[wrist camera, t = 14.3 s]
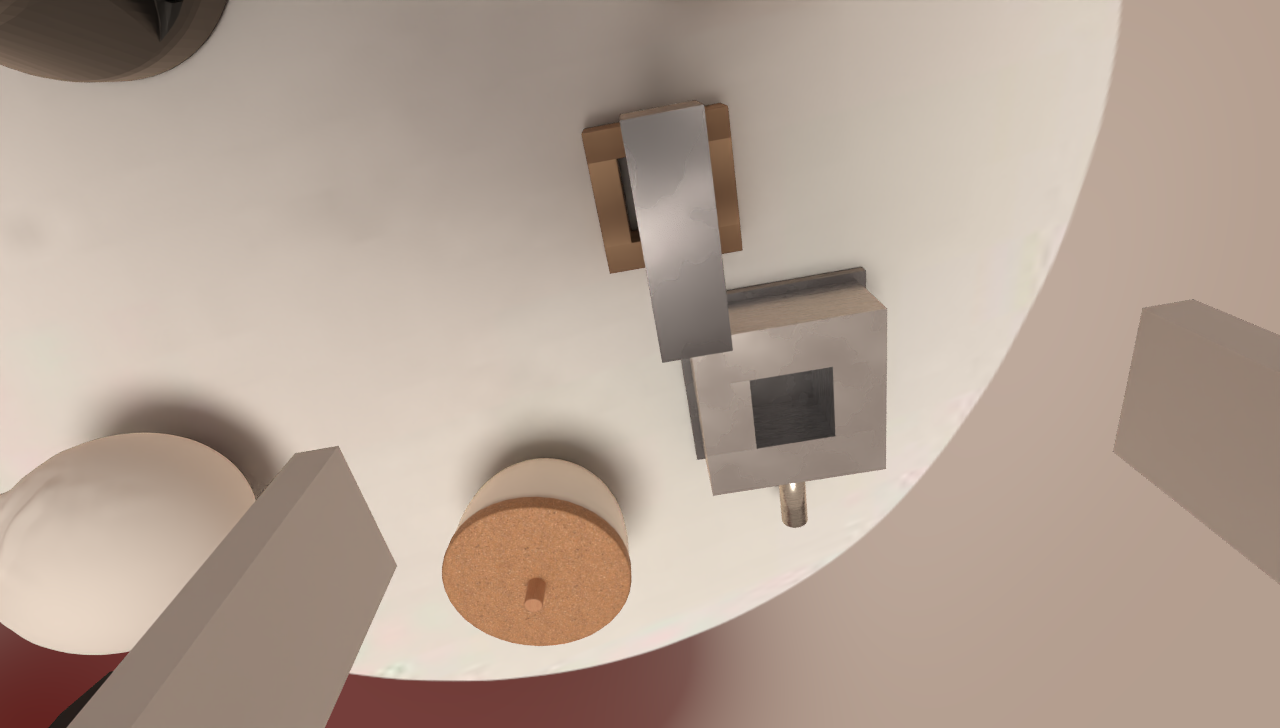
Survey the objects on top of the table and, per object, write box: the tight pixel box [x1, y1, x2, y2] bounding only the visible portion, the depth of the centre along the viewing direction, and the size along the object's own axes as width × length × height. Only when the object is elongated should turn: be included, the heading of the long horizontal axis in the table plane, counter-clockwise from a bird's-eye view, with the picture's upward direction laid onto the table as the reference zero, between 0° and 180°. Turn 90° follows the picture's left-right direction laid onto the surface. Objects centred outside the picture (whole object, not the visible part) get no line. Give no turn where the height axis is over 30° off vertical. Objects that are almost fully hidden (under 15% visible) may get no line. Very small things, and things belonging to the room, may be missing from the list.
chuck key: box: [620, 100, 733, 363], centre depth 27 cm, size 9×3×12 cm, turn 10°
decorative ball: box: [0, 433, 256, 655], centre depth 34 cm, size 12×12×12 cm
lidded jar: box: [442, 458, 631, 646], centre depth 37 cm, size 11×11×9 cm
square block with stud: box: [681, 267, 887, 528], centre depth 36 cm, size 15×11×5 cm
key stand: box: [581, 103, 743, 274], centre depth 31 cm, size 7×7×2 cm
